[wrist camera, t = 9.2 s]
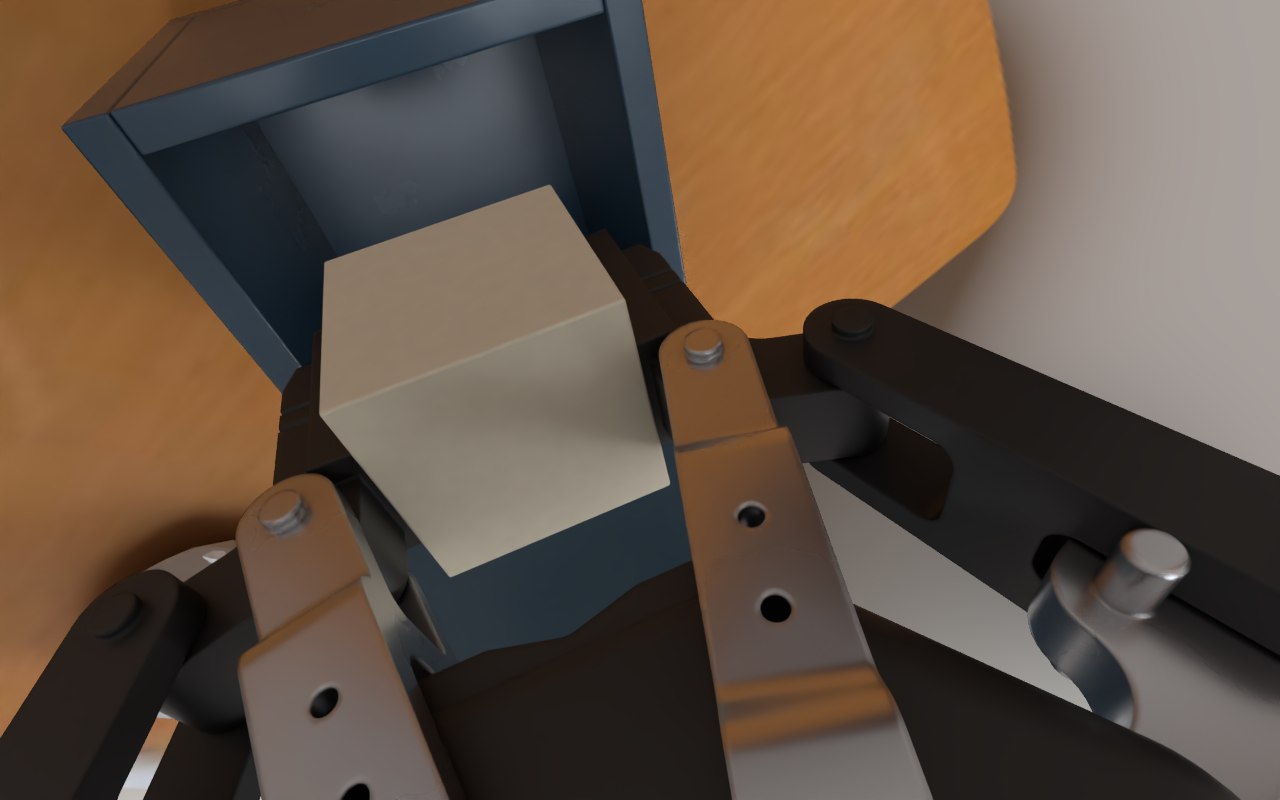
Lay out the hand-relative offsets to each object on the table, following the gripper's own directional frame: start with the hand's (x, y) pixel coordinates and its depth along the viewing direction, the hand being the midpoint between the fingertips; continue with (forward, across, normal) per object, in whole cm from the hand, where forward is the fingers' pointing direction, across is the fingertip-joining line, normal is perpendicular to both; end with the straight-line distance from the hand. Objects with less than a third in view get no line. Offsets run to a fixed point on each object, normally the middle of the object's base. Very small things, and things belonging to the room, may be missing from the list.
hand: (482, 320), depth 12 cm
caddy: (+13, 0, +2) cm, 13 cm away
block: (0, 0, 0) cm, 0 cm away
